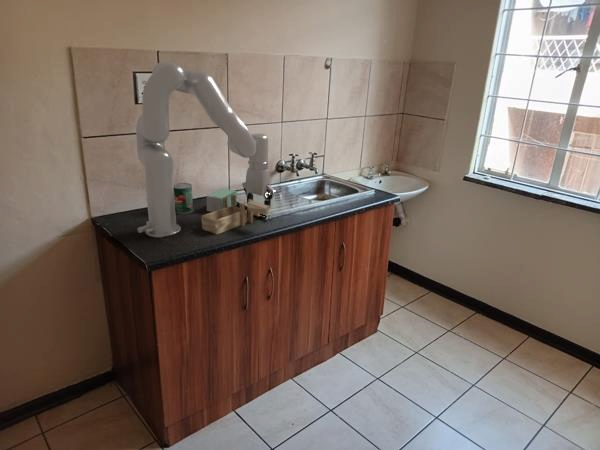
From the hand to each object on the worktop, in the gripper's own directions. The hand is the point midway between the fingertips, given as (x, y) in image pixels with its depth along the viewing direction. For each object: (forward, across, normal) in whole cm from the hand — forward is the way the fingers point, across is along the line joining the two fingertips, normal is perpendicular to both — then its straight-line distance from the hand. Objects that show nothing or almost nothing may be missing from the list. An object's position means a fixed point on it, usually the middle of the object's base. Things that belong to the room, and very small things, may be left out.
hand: (258, 206), depth 183 cm
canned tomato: (+4, -28, -16) cm, 33 cm away
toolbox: (+4, -1, -18) cm, 19 cm away
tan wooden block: (-3, +10, -11) cm, 15 cm away
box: (+5, -17, -4) cm, 18 cm away
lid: (+5, 0, 0) cm, 5 cm away
